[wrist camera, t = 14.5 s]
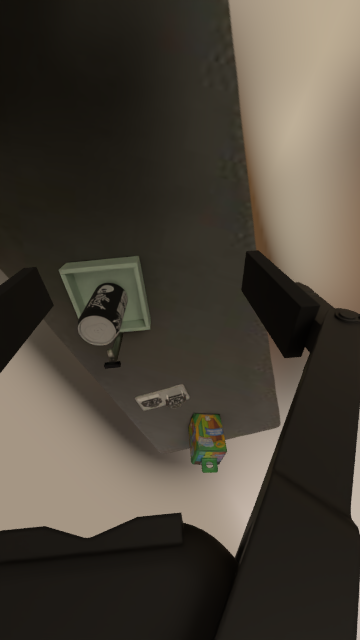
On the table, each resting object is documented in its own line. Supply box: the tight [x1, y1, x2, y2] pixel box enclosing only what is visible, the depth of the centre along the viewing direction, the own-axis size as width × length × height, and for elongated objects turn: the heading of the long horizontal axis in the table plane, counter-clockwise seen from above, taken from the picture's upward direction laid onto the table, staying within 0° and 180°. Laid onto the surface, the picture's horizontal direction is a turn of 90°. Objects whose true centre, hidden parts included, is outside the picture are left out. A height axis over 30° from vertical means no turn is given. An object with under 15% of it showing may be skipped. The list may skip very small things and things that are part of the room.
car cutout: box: [135, 384, 190, 411], centre depth 63 cm, size 15×7×4 cm, turn 109°
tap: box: [104, 332, 124, 369], centre depth 44 cm, size 4×3×12 cm
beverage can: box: [78, 283, 128, 345], centre depth 39 cm, size 7×7×12 cm
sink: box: [59, 256, 151, 332], centre depth 43 cm, size 15×14×4 cm
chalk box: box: [189, 413, 227, 473], centre depth 67 cm, size 9×9×15 cm
